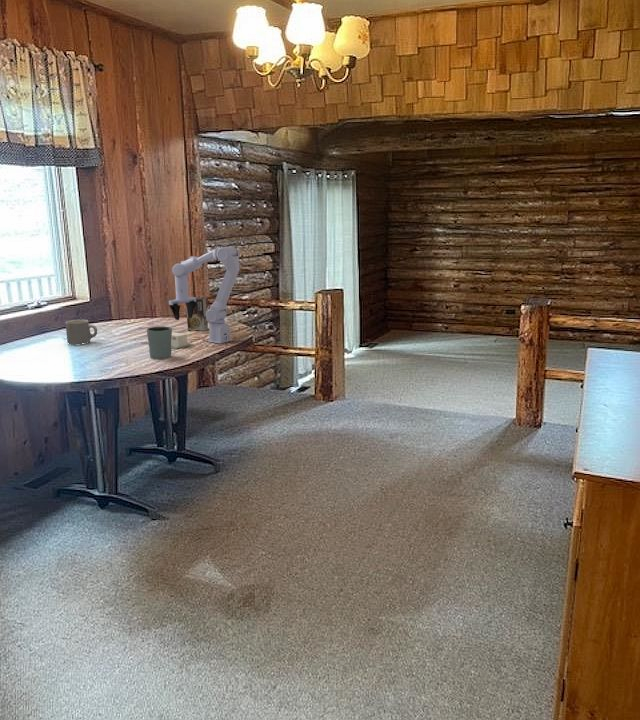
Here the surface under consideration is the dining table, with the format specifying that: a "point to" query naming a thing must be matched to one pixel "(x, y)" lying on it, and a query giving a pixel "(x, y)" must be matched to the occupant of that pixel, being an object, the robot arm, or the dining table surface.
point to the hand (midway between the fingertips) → (183, 318)
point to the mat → (171, 346)
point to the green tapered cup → (159, 342)
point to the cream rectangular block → (178, 339)
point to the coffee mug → (79, 331)
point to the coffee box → (198, 316)
